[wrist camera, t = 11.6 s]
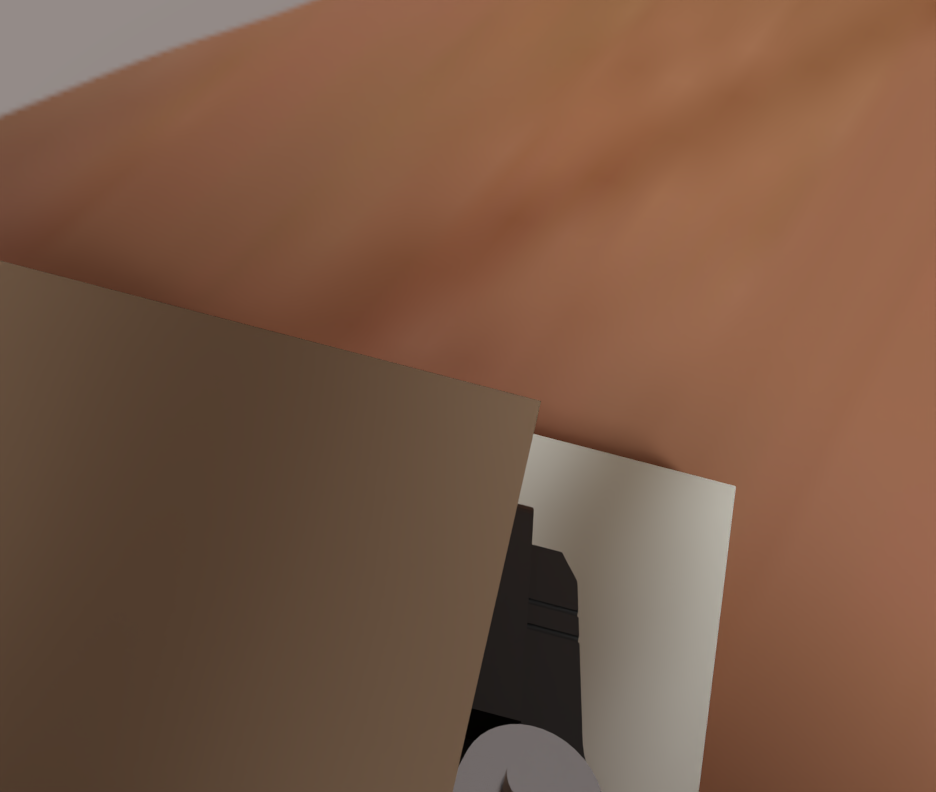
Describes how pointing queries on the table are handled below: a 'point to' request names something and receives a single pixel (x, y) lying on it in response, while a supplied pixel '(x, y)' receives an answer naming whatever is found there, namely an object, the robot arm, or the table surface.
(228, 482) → the block
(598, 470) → the board
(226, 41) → the table surface
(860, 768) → the table surface
